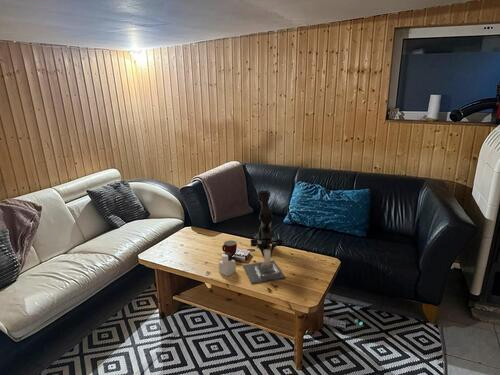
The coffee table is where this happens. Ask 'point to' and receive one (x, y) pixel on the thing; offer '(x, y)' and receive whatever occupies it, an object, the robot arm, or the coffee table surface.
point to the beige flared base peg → (267, 259)
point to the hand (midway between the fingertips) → (267, 256)
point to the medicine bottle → (227, 264)
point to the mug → (230, 247)
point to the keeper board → (263, 273)
